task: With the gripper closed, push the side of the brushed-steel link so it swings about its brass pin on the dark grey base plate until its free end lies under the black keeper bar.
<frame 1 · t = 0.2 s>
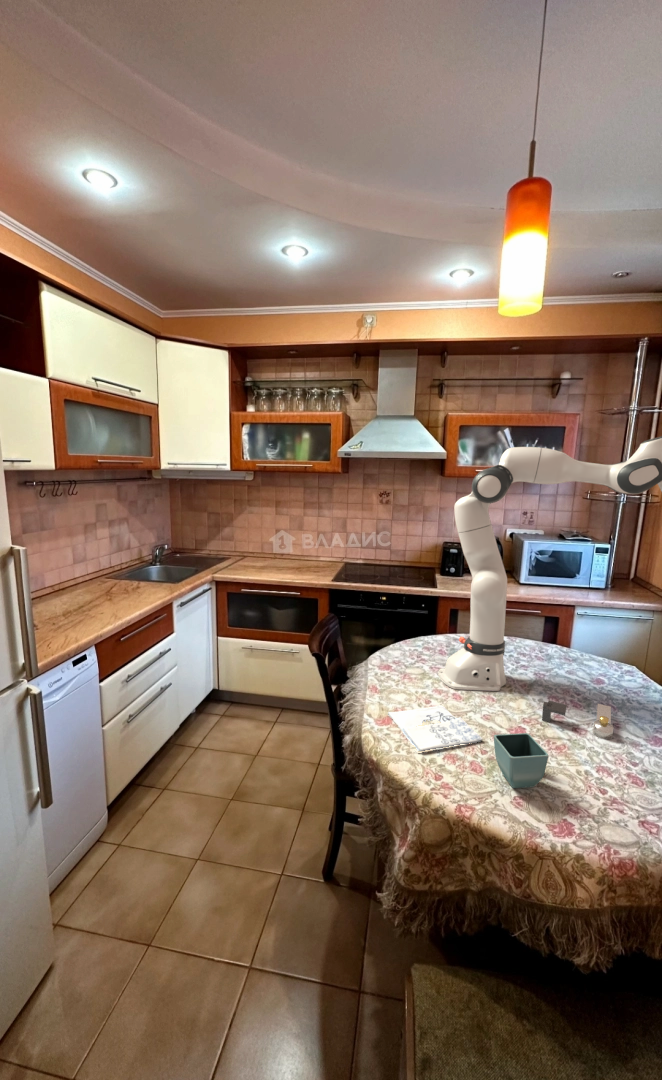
white illustrated notebook: (432, 729, 121), on the table
pintle base: (580, 731, 119), on the table
link: (603, 721, 120), point 3 cm above the table, hinge at 0.0°
flower pot: (517, 781, 100), on the table
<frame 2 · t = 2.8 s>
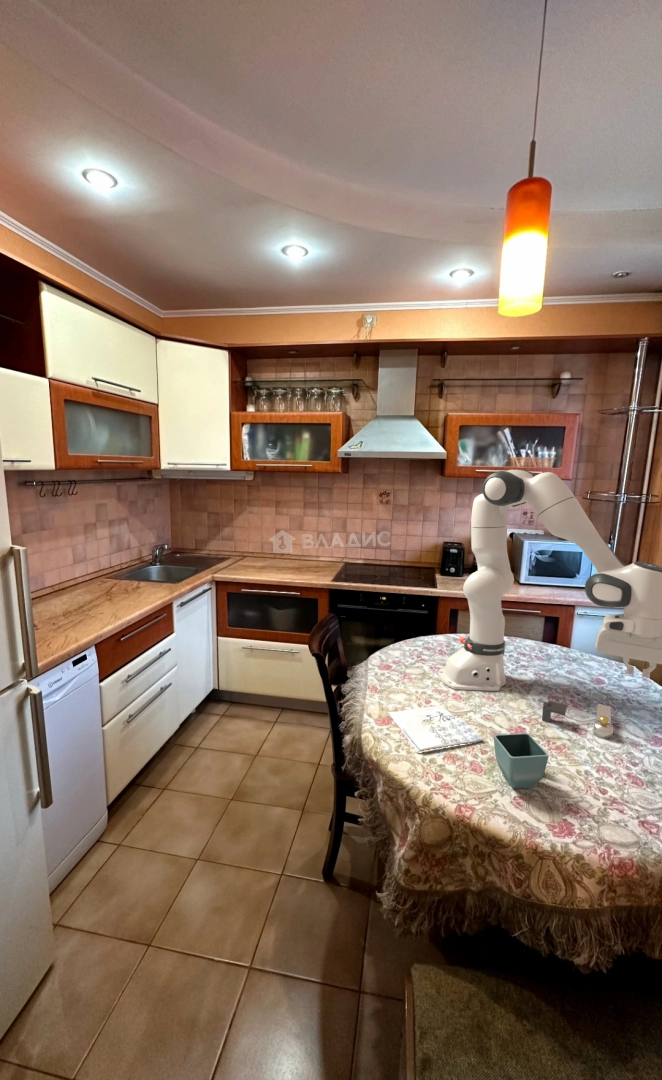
hand: (637, 675, 116), 17 cm above the table, tool pointing down, fingers closed
nothing on the table moved.
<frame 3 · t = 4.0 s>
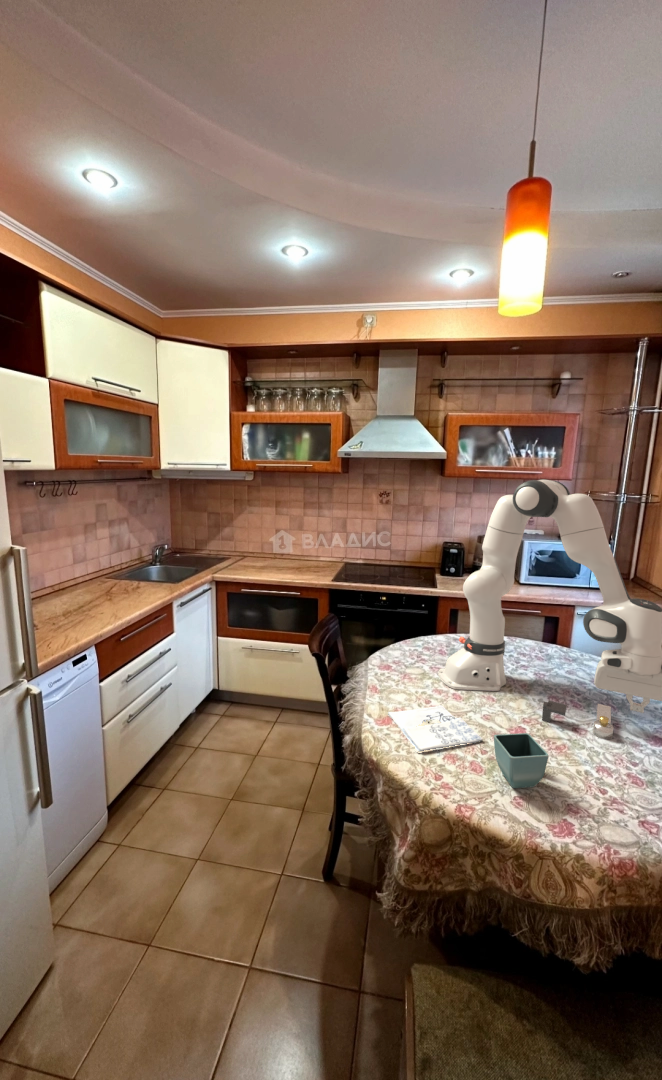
hand: (636, 710, 117), 7 cm above the table, tool pointing down, fingers closed
nothing on the table moved.
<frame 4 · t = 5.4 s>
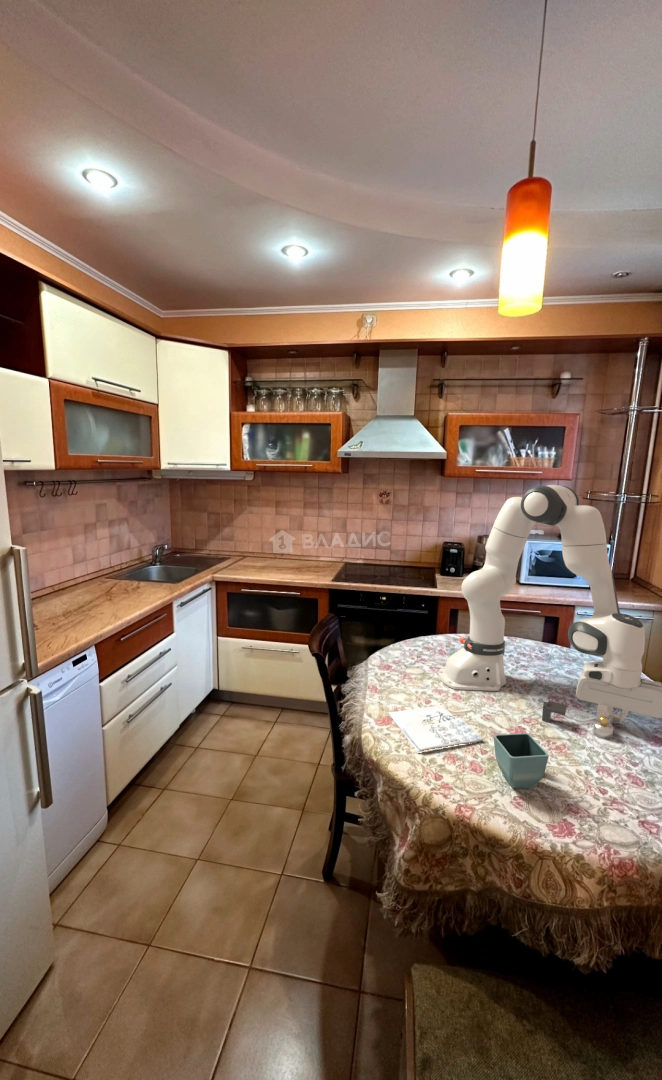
hand: (615, 722, 120), 2 cm above the table, tool pointing down, fingers closed
link: (603, 721, 120), point 3 cm above the table, hinge at 0.0°, touching gripper
everything else where it was.
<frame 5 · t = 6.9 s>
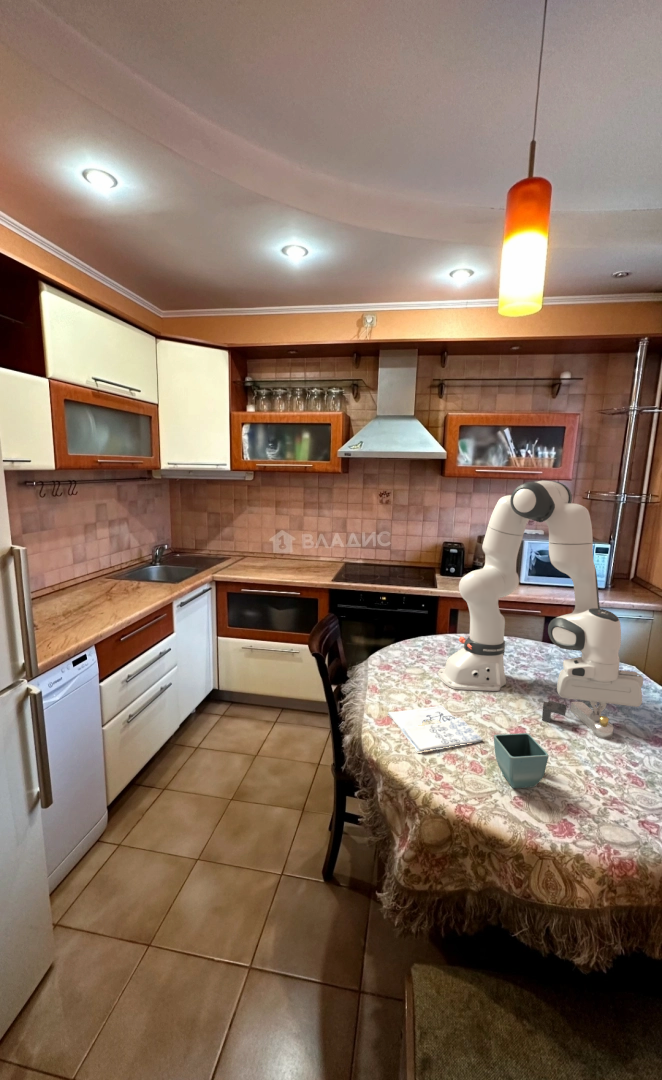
hand: (596, 715, 122), 3 cm above the table, tool pointing down, fingers closed, pressing on link
link: (591, 719, 120), point 3 cm above the table, hinge at 34.6°, touching gripper
everything else where it was.
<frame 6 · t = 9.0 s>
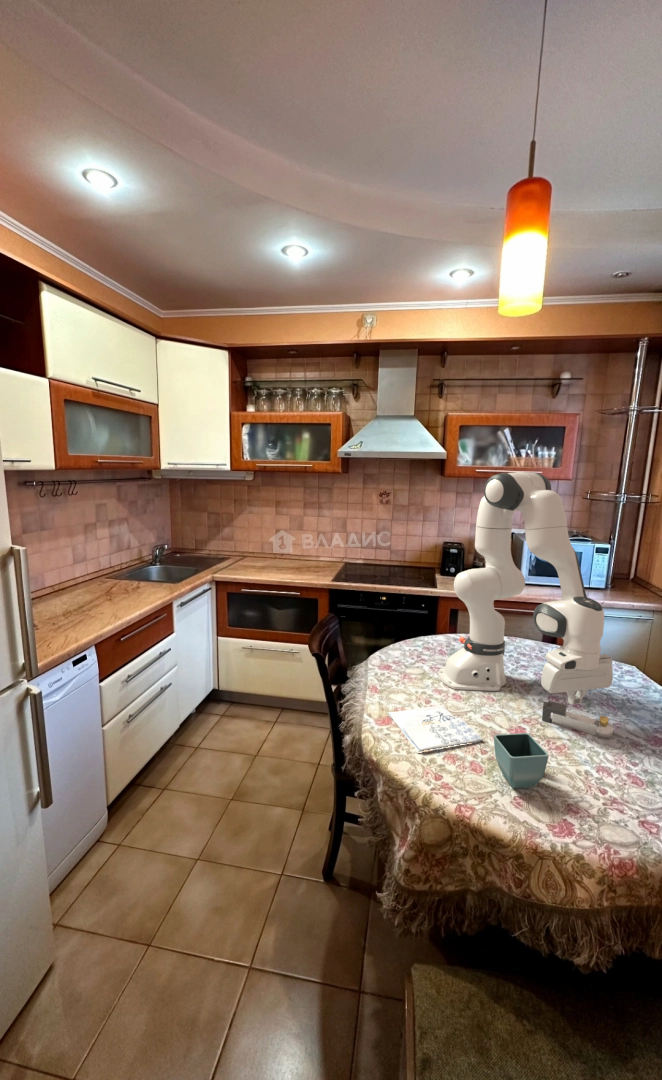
hand: (574, 703, 122), 7 cm above the table, tool pointing down, fingers closed
link: (582, 723, 118), point 3 cm above the table, hinge at 86.3°
everything else where it was.
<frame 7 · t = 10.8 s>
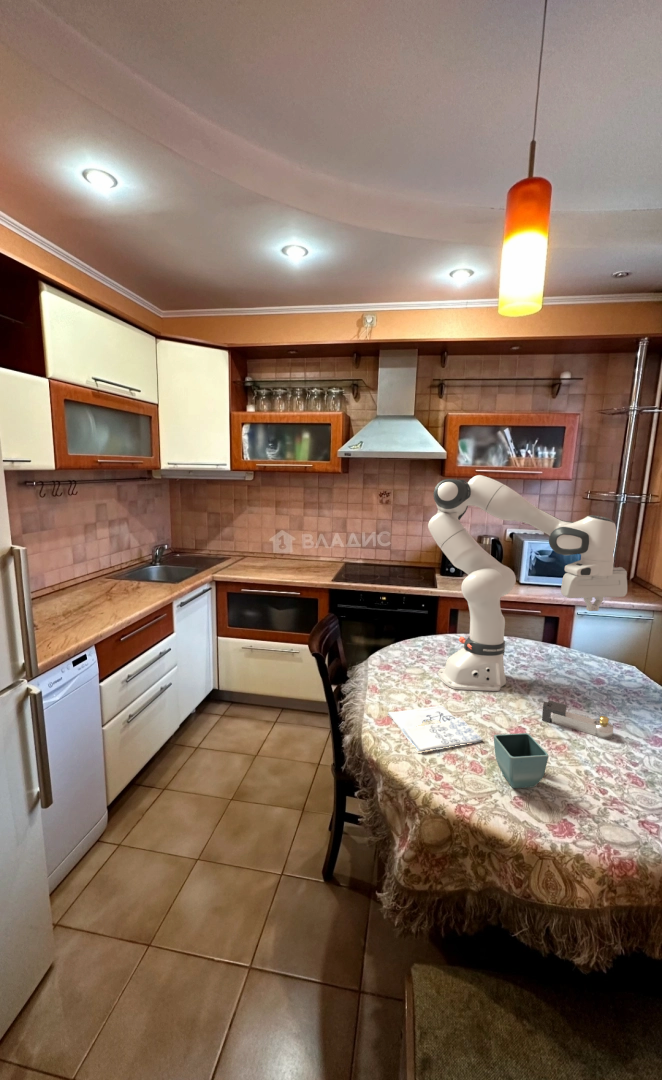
hand: (592, 610, 138), 27 cm above the table, tool pointing down, fingers closed
nothing on the table moved.
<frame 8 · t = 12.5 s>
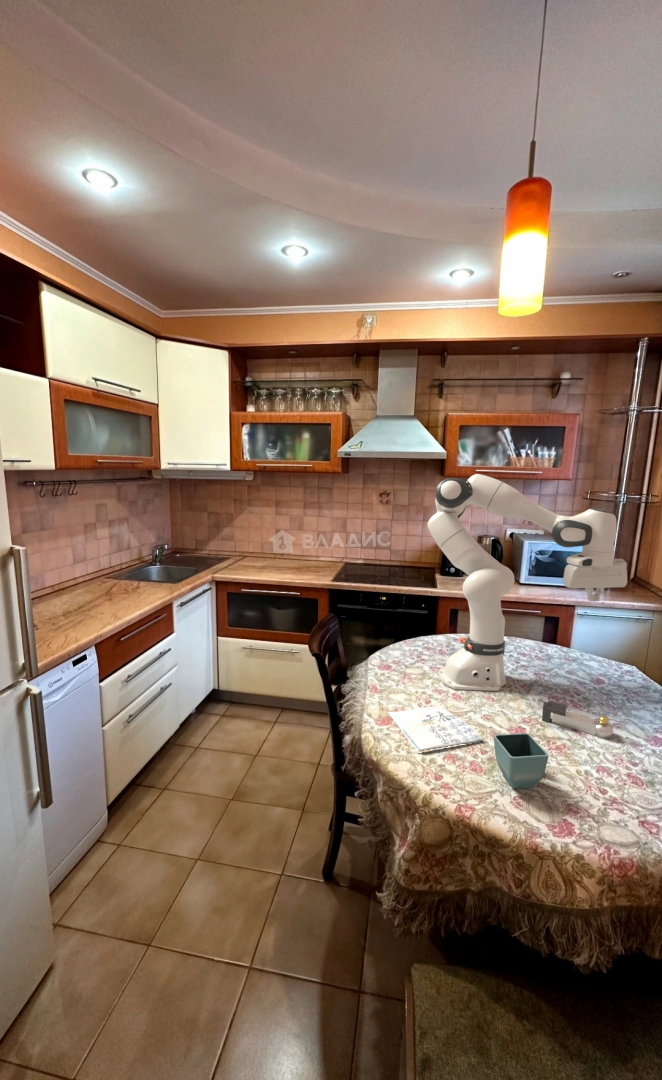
hand: (593, 600, 143), 29 cm above the table, tool pointing down, fingers closed
nothing on the table moved.
at the end: link at +86° (first picture: +0°) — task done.
